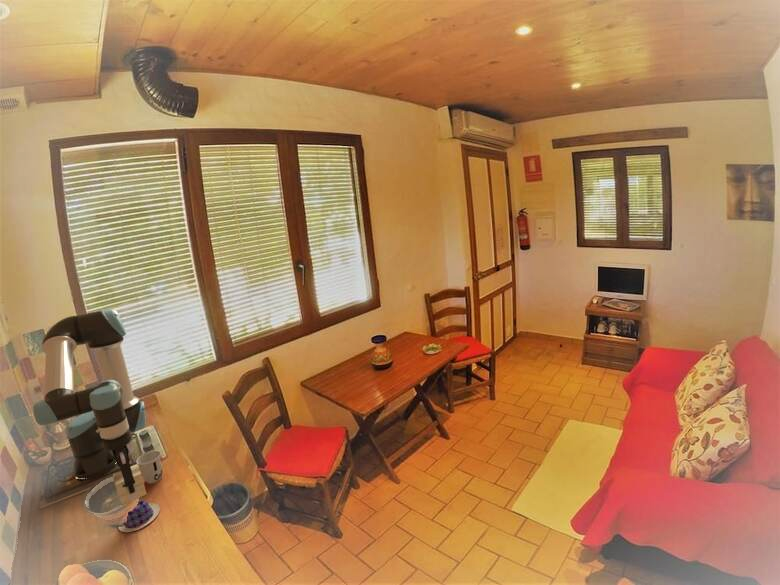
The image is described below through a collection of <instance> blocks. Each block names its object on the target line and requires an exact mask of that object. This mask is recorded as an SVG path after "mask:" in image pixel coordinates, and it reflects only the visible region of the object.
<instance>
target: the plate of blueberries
mask: <svg viewBox="0 0 780 585" xmlns="http://www.w3.org/2000/svg"><path fill="white" fill-rule="evenodd" d="M137 502H138V504H137V506H136V507H135V508H134V509H133V510H132V511H129V512H128V516H127V522H126V525H125V526H123V527H118V526H117V527H118V528H117V529H118V530H119V531H120V532H122V533H131V532H135V531H138V530H140V529H143V528H144V527H145V526H147V525H148V524H150V523H151V522H152V521H154V520H155V519H156V517H157V516H158V515H159V513H160V506H159V504H157V503H153V502H151V503H150V502H149V503H148V502H147V501H146V500H138V501H137ZM126 526H127V527H126Z"/></svg>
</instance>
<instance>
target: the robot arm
mask: <svg viewBox="0 0 780 585" xmlns="http://www.w3.org/2000/svg"><path fill="white" fill-rule="evenodd" d="M126 335H127V331H126V328H125V324H124V322H123V320H122V318H121V316H120V314H119V312H118V311H117V310H115V309H105V310H97V311H94V312H93V311H91V312H88V313H84V314H77V315H72V316H68V317H65V318H62V319H61V320H58V321H57V322H56V323H55V324H53V325H52V326H51V327H50V328H49V329H48V331H47V332H46V334H45V335H44V337H43V340H42V342H41V344H42V345H41V346H42V347H41V350H42V353H44V354H45V359H44V361H45V362H44V363H45V366H44V385H43V386H44V392H43V400H40V401H38V402H36V403H34V405H33V408H32V411H33V418H34V420H35V422H36V423H37V424H38V425H39V426H47V425H50V424H55V423H58V422H61V421H64V420H67V419H71V418H74V417H75V418H74V419H72V420H70V422H69V423H68V424H67V425H66V426H65V427H66V428H65V433H66V439H67V440H68V442H69V445H70V448H71V452H72V454H73V459H74V460H73V466H72V475H73V474H74V475H75V476H76V477H78V478H85V479H86V478H87V479H88V480H90V479H89V478H92V479H94V478H93V477H95V478H97V477H99V475H100V476H102V475H104V474H106V473H107V472H106V471H108V470H109V471H111V470H112V469H113V468H114V467H115V466H117V467H119V468H120V470H119V471H121V472H122V476H123V479H124V482H125V484H124V485H122V486H123V487H125V488H126V492H127V495H128V499H129V503H132V502H134V501H137V500H138V499H140V497H139V495H138V491H137V488H136V484H135V480H134V478H133V474H132V471H131V466H133V465H132V464H130V461H131V458H130V456H129V455H130V454H129V453H130V450H129V448H128V446H127V445H128V444H129V443H131V441H132V439H133V438H132V434H133V433H136V432H138V431H141V430H143V429H145V428H146V425H147V422H146V421H147V420H146V409H145V408H146V407H145V406H146V405H145V401H141V400H140V398H139V397H137V396H135V394H134V393H133V392H134V391H133V388H132V383H131V380H130V377H129V373H128V369H127V365H126V361H125V357H124V352H123V350H122V345H121V344H122V343H123V342H124V341H125V340H124V337H125V336H126ZM86 344H87V347H88V348H89V349H90V350H93V351H94V353H95V357H96V361H97V364H98V367H99V371H100V375H101V378H102V381H101V382H100V383H98V384H97V385H96V386H93V387H89V388H85V389H82V390H79V391H75V388H76V387H75V367H74V366H75V364H74V362H75V361H74V351H75V350H76V349H77V346H80V345H81V346H82V345H86ZM116 462H117V464H116V465H115V463H116ZM114 465H115V466H114ZM113 466H114V467H113ZM112 467H113V468H112ZM111 468H112V469H111ZM110 469H111V470H110ZM109 471H108V472H109ZM105 472H106V473H105ZM103 473H104V474H103ZM101 474H102V475H101ZM74 475H73V476H74ZM96 476H97V477H96Z"/></svg>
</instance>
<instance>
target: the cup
mask: <svg viewBox="0 0 780 585" xmlns="http://www.w3.org/2000/svg"><path fill="white" fill-rule="evenodd" d="M136 464H138V467H139V469H140V472H141V475H142V479H143V480H144V481H145V482H146V483H147V484H156V483H157V482H159V481H160V480H161V479H162V478H163V472H164V470H163V469H164V468H163V458H162V452H161V451H160V450H157V449H155V450H150V451H147V452H144V453H143V454H141V455H140V456H138V457H137V459H136Z"/></svg>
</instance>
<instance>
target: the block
mask: <svg viewBox="0 0 780 585" xmlns="http://www.w3.org/2000/svg"><path fill="white" fill-rule="evenodd" d="M131 471H132V474H133V478H134V480H135V484H136V488H137V491H138V495H139V498H142V497H143V496H145V495H147V490H146V487H145V484H144V478H143V476H142V474H141V472H140V469H139V467H138V464H137V463H136V464H134V465H132V466H131ZM112 477H113V480H114V481H113V482H114V484H115V489H116V492H117V496H118V498H119V499H118V500H119V502H120V505H121V507H123V506H125V505H127V504H129V503H130V502H129V499H128V495H127V492H126V488H125V487H123V486H122V485H124V484H125V482H124V479H123V476H122V472H121V471H120V470H119V471H118V472H117V471H116V472H115V473H113V474H112Z"/></svg>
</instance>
